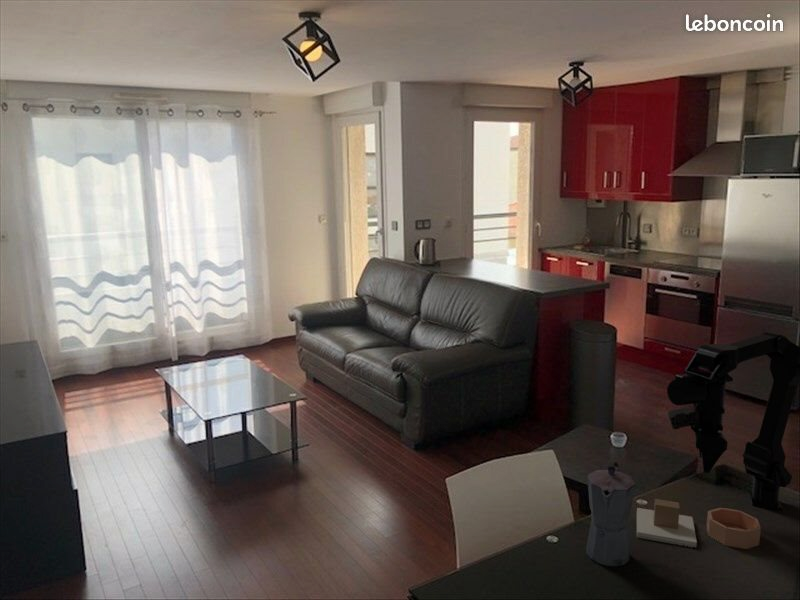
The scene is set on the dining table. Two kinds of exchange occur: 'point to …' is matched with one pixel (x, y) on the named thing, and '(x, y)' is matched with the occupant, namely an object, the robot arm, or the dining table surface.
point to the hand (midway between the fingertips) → (704, 464)
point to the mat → (665, 541)
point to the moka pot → (609, 515)
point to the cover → (666, 523)
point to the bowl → (733, 528)
